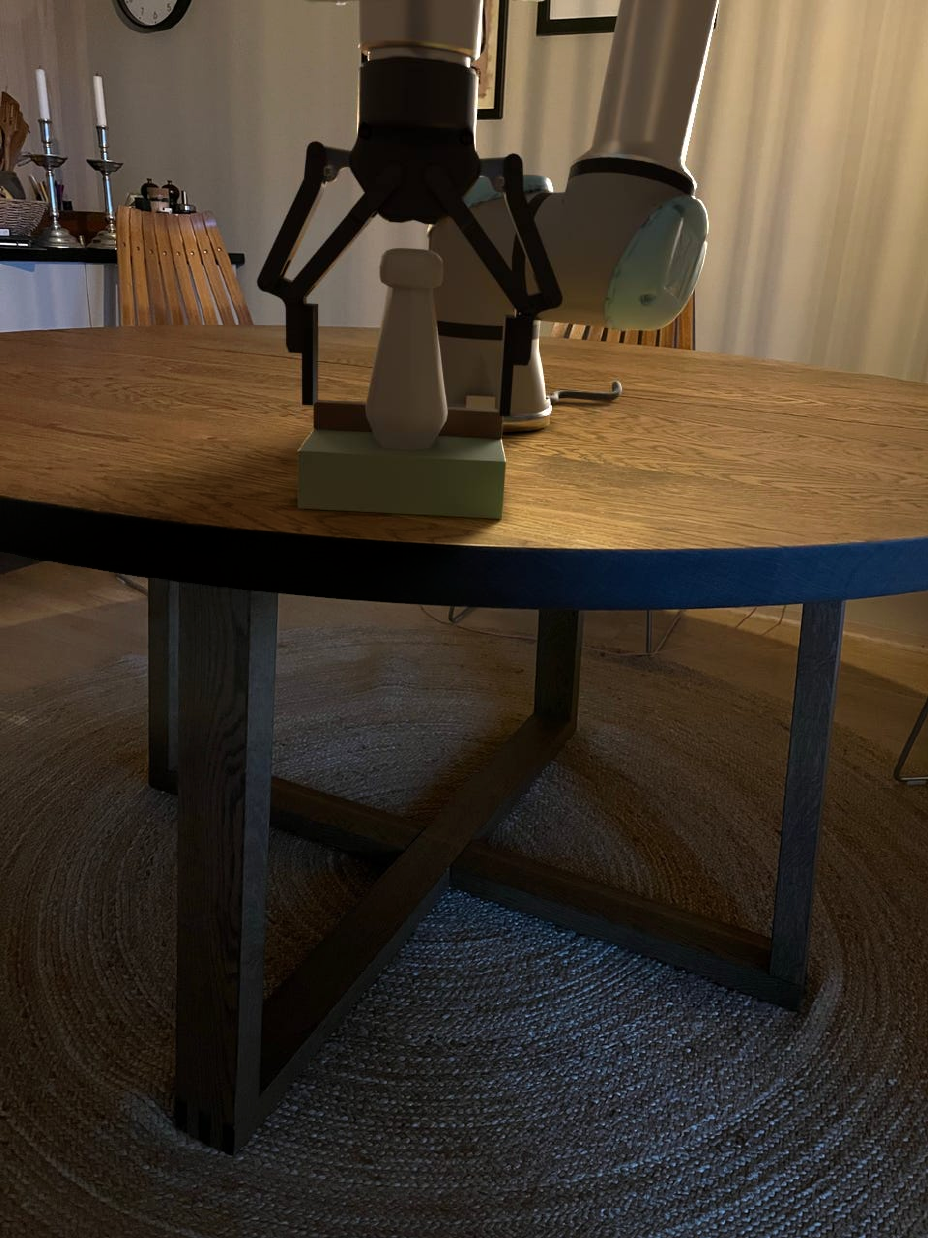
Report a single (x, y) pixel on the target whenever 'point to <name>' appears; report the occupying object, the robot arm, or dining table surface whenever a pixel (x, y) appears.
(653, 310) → the robot arm
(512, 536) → the dining table surface
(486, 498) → the spice shelf
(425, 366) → the salt shaker
